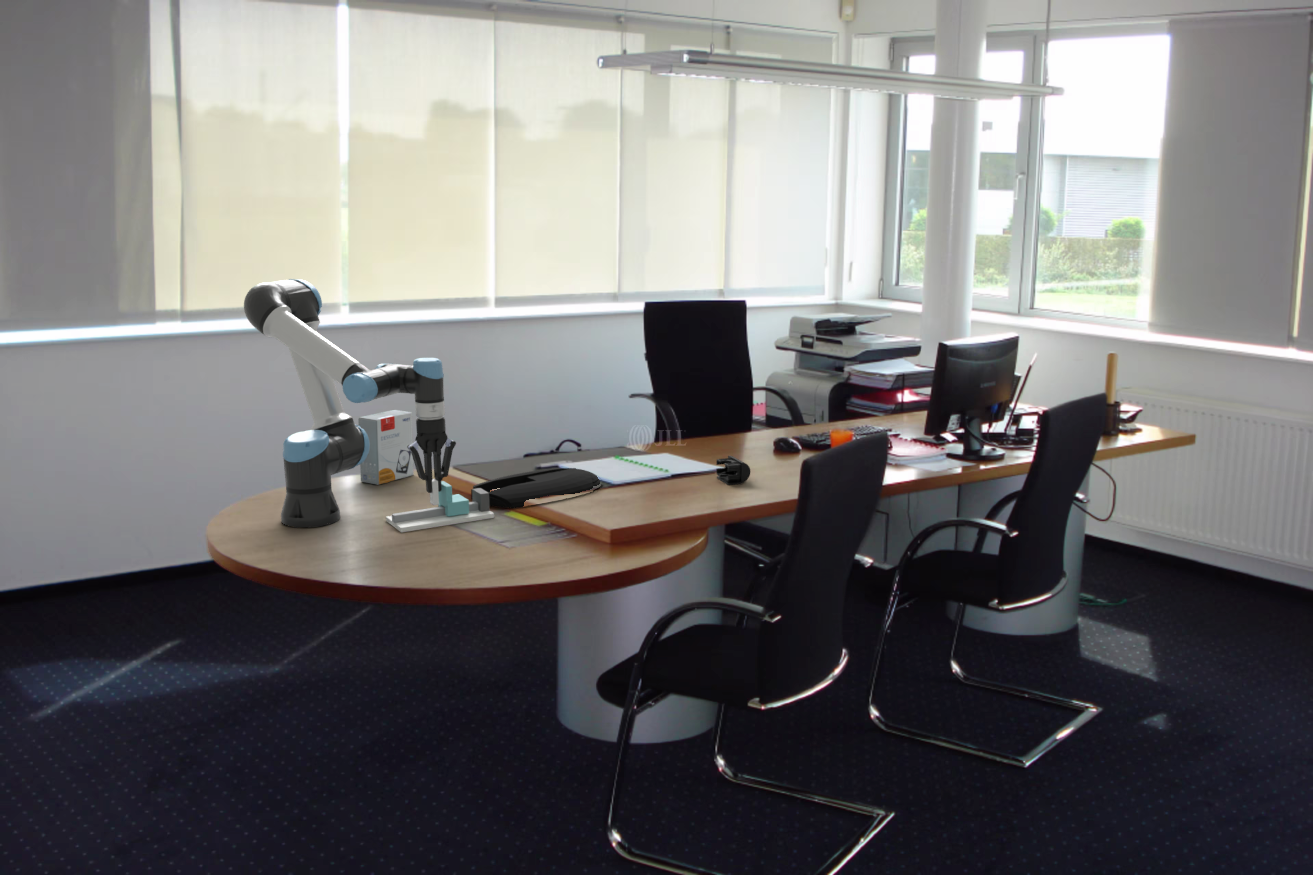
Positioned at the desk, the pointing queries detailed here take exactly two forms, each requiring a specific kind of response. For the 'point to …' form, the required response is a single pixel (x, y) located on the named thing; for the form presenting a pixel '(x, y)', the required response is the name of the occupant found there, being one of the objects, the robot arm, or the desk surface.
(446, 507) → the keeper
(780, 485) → the desk surface
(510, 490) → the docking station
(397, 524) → the rail board
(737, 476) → the black plastic connector
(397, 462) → the hard drive box
